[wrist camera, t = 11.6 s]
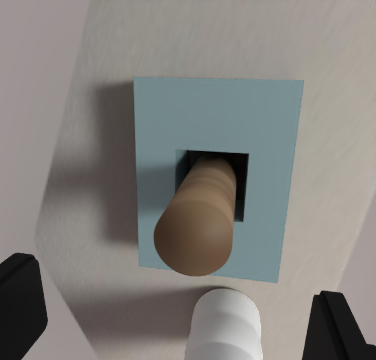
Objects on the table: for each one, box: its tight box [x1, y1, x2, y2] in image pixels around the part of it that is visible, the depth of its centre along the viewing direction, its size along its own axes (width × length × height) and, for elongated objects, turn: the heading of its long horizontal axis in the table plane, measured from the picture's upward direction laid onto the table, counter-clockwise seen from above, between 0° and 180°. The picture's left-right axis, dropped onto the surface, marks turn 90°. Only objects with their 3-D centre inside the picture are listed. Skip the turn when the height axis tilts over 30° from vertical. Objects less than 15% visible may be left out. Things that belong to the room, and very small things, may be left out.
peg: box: [153, 151, 237, 276], centre depth 22 cm, size 4×4×14 cm
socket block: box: [133, 77, 304, 283], centre depth 26 cm, size 16×12×5 cm
